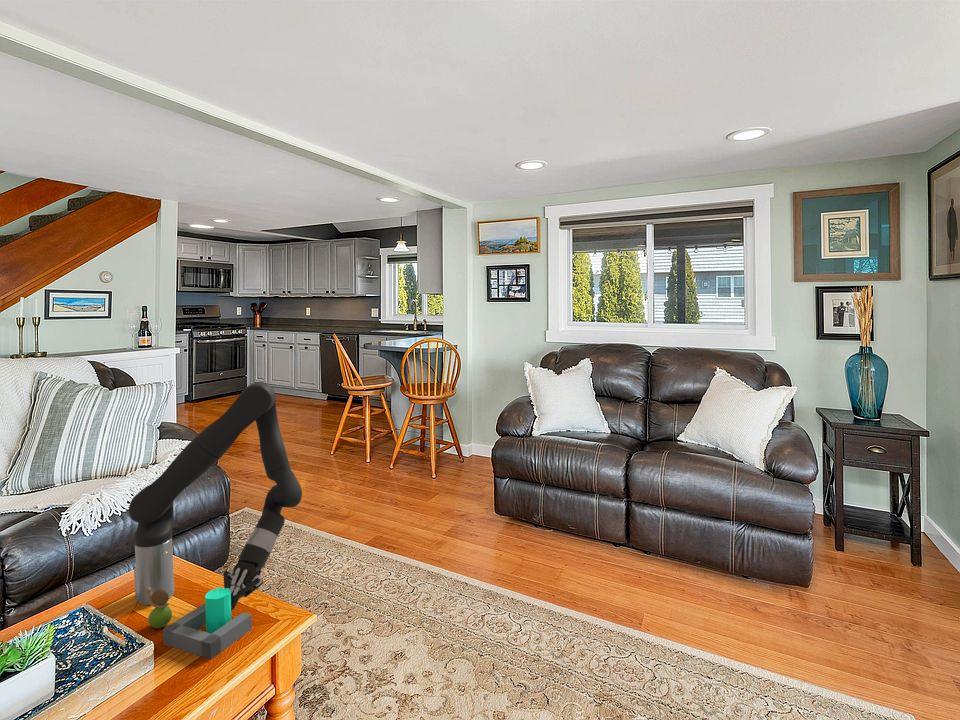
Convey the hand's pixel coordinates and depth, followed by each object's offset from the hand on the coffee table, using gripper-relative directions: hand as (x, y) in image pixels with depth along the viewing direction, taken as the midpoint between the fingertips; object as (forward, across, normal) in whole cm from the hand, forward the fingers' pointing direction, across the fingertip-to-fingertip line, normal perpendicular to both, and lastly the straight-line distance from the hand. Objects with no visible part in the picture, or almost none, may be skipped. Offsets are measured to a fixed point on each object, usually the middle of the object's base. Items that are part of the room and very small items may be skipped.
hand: (226, 610), depth 138 cm
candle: (+5, 0, +1) cm, 5 cm away
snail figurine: (+8, -16, -2) cm, 18 cm away
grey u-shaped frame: (+7, 0, -1) cm, 7 cm away
